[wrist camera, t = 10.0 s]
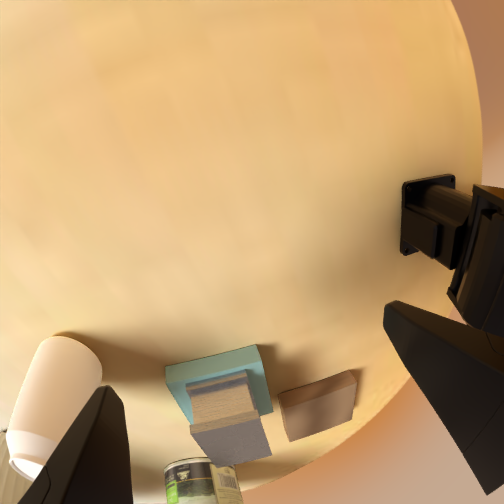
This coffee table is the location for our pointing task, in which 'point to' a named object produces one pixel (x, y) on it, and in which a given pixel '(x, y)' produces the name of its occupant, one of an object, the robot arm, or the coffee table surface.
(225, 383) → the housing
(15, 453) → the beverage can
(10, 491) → the canister
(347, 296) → the coffee table surface
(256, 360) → the stand
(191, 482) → the coffee can
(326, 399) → the brown flat square block
